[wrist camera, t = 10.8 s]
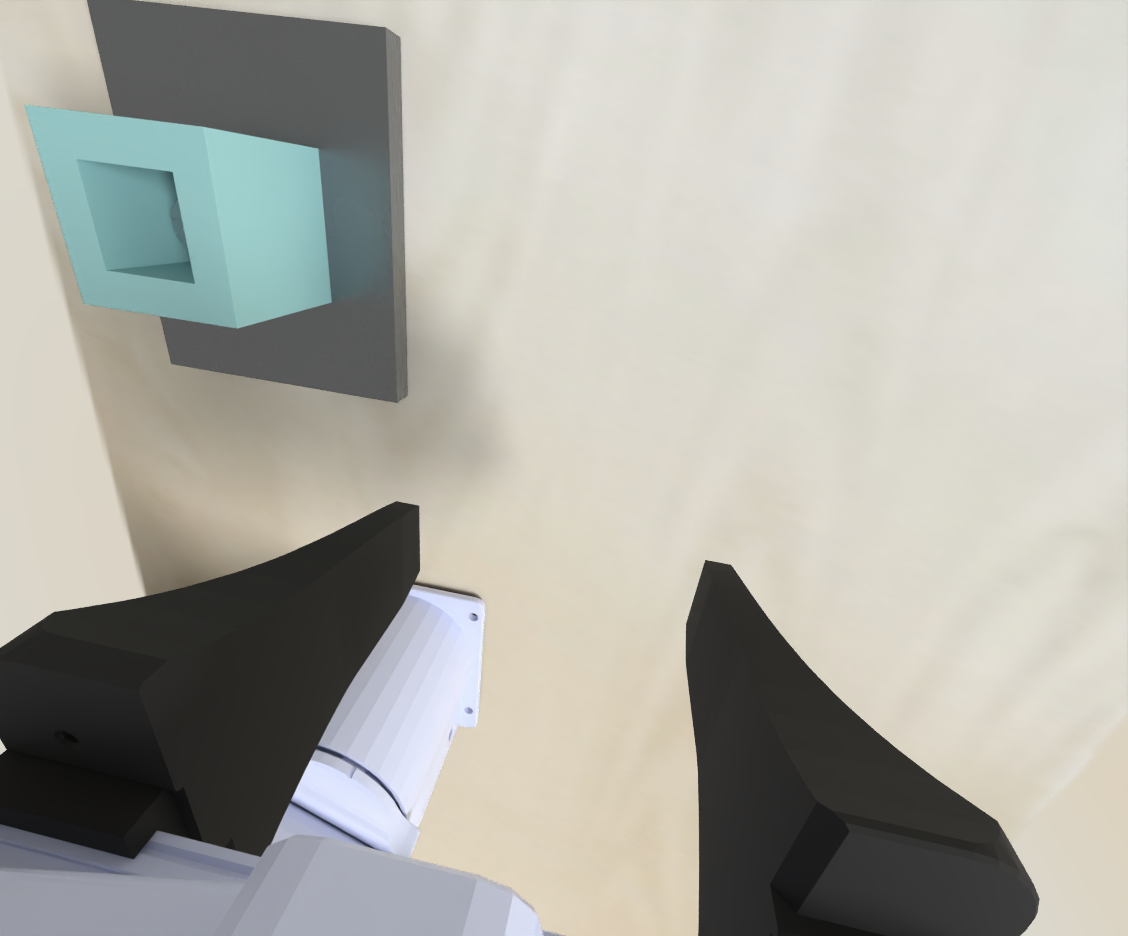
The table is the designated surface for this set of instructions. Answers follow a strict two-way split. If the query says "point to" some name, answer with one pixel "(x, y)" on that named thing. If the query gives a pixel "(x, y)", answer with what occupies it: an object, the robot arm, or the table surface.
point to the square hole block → (185, 217)
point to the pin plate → (298, 116)
